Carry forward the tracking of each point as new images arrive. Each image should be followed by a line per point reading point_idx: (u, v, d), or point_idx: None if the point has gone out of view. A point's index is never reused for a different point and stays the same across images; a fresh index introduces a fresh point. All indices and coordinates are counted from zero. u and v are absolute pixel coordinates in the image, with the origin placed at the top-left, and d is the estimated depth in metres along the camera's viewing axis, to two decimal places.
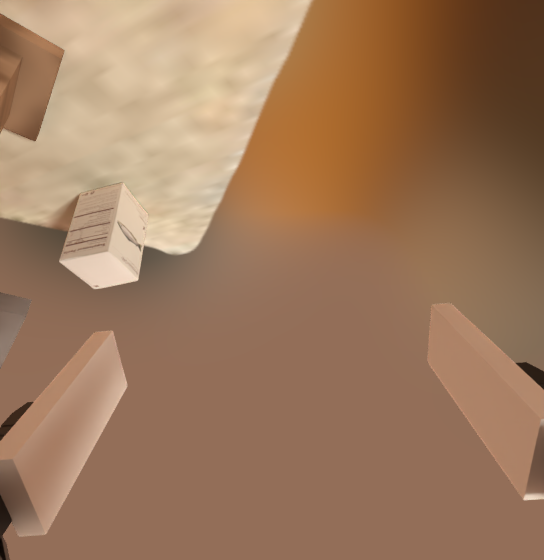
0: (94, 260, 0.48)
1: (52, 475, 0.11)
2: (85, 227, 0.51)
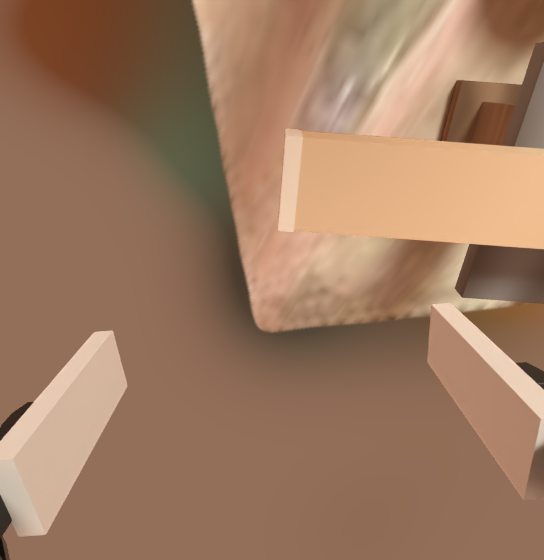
0: None
1: (52, 475, 0.11)
2: None
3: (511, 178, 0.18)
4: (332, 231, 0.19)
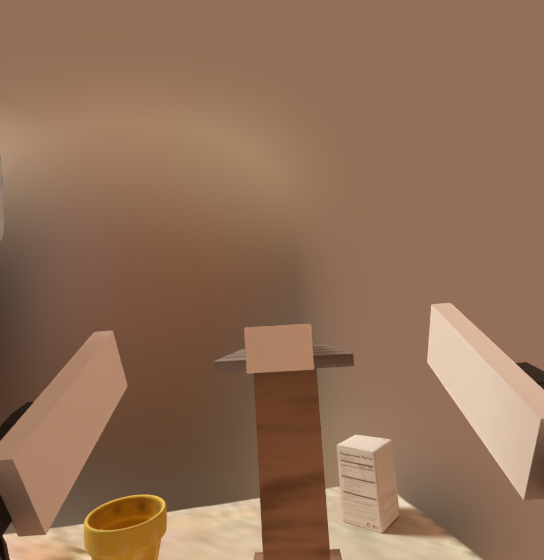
0: (352, 445, 0.65)
1: (52, 475, 0.11)
2: (361, 481, 0.63)
3: None
4: None
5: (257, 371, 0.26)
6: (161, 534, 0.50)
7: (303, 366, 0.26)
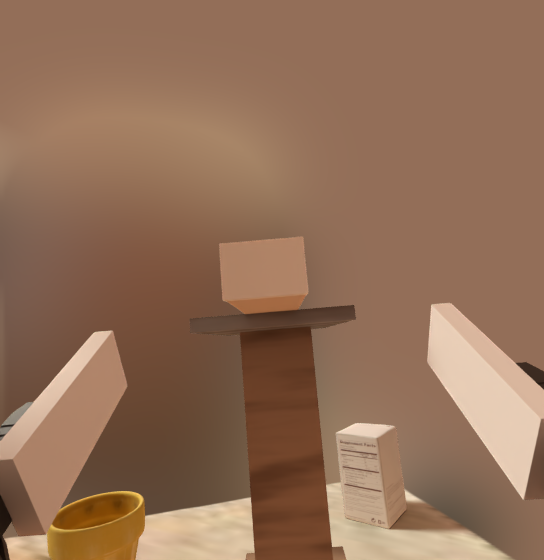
0: (353, 432, 0.59)
1: (52, 475, 0.11)
2: (364, 471, 0.57)
3: None
4: None
5: (236, 297, 0.20)
6: (137, 534, 0.44)
7: (294, 289, 0.20)
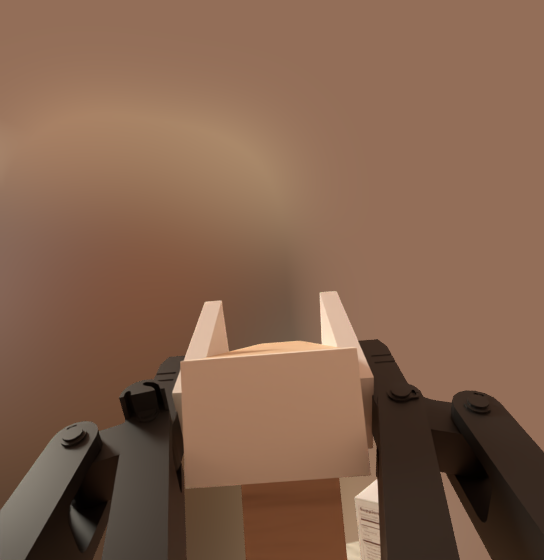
0: (376, 497, 0.48)
1: None
2: None
3: None
4: (335, 347, 0.13)
5: (215, 482, 0.09)
6: None
7: (341, 466, 0.09)
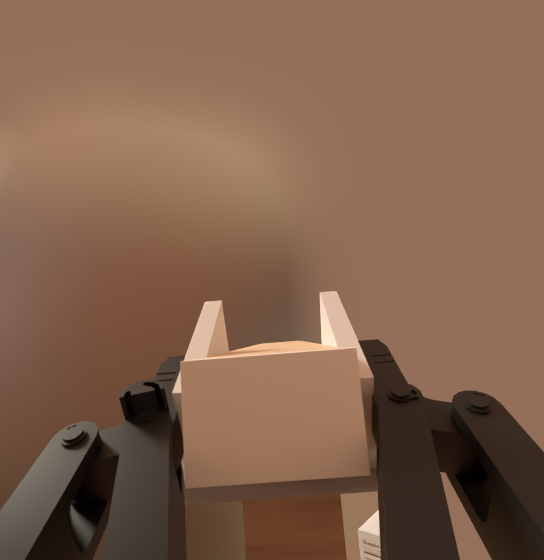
0: (379, 530, 0.48)
1: None
2: None
3: None
4: (335, 347, 0.13)
5: (214, 482, 0.09)
6: None
7: (340, 466, 0.09)
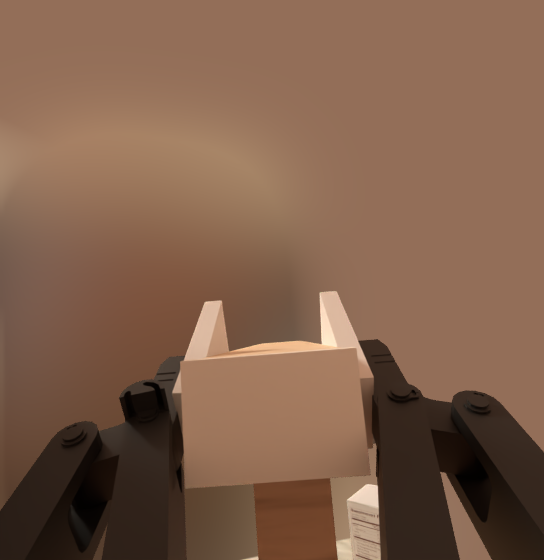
0: (365, 500, 0.57)
1: None
2: (377, 544, 0.54)
3: None
4: (335, 347, 0.13)
5: (214, 482, 0.09)
6: None
7: (340, 466, 0.09)
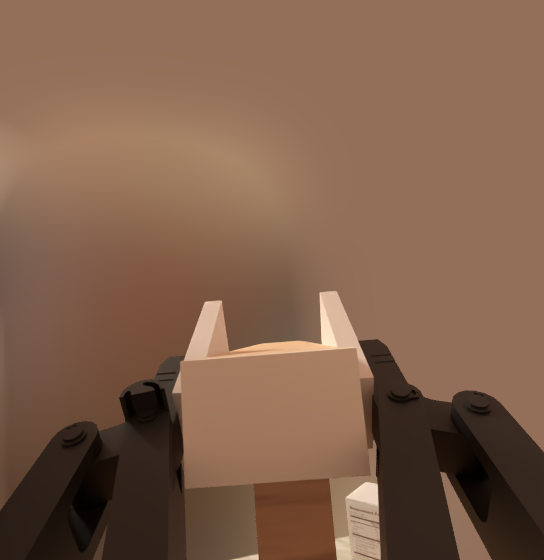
0: (363, 498, 0.58)
1: None
2: (375, 541, 0.55)
3: None
4: (335, 347, 0.13)
5: (214, 482, 0.09)
6: None
7: (340, 466, 0.09)
